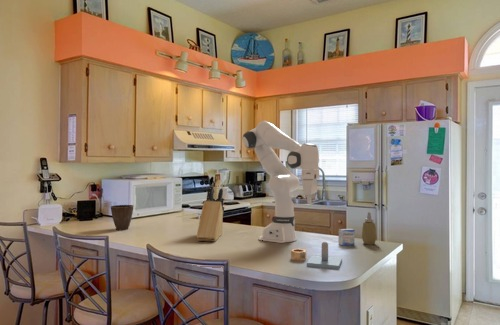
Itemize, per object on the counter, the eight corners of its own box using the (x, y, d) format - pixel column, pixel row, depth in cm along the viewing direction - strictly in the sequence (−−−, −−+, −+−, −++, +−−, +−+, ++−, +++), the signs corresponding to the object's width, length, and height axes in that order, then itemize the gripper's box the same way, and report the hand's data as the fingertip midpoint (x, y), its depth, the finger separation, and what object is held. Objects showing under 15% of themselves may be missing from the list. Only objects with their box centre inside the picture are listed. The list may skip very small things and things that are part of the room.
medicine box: (342, 245, 207) (342, 230, 207) (338, 244, 211) (338, 228, 211) (354, 245, 209) (354, 229, 209) (350, 243, 214) (350, 228, 213)
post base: (306, 266, 167) (306, 243, 166) (312, 258, 180) (312, 237, 180) (338, 269, 162) (338, 246, 162) (341, 261, 175) (342, 239, 175)
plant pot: (105, 230, 250) (105, 206, 250) (119, 226, 264) (119, 204, 264) (124, 231, 246) (124, 207, 246) (137, 228, 260) (137, 205, 260)
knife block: (225, 231, 248) (225, 185, 248) (215, 243, 213) (215, 189, 213) (208, 231, 249) (208, 185, 249) (195, 242, 214) (196, 188, 214)
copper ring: (290, 260, 177) (290, 251, 177) (293, 256, 183) (293, 248, 183) (304, 261, 175) (304, 252, 175) (307, 257, 181) (307, 249, 181)
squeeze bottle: (373, 242, 216) (373, 211, 216) (378, 245, 208) (378, 213, 208) (359, 242, 216) (359, 211, 216) (364, 245, 208) (364, 213, 208)
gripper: (307, 175, 198) (308, 200, 198) (300, 176, 179) (301, 204, 179) (319, 174, 196) (320, 201, 196) (313, 175, 177) (314, 204, 177)
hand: (311, 202), depth 187 cm, fingers open, 8 cm apart
